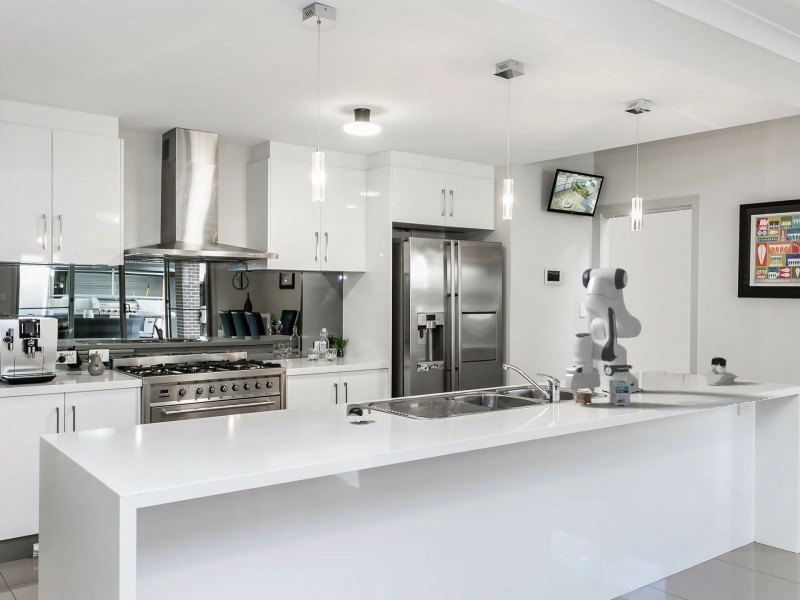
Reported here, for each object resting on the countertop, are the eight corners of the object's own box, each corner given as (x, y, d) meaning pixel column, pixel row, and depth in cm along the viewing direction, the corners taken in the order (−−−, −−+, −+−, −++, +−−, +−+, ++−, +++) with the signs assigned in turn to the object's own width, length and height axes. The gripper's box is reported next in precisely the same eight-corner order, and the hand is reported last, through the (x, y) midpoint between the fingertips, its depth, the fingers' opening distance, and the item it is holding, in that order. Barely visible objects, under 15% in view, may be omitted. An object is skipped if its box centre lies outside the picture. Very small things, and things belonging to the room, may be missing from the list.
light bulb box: (630, 406, 313) (630, 382, 313) (615, 406, 314) (615, 382, 314) (623, 402, 324) (623, 379, 324) (609, 402, 324) (608, 379, 324)
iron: (738, 382, 397) (738, 356, 397) (722, 386, 380) (722, 359, 380) (718, 381, 405) (718, 355, 405) (702, 385, 388) (702, 358, 388)
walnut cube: (582, 402, 325) (582, 392, 325) (591, 404, 321) (591, 393, 321) (575, 403, 322) (575, 393, 322) (583, 405, 318) (583, 394, 318)
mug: (348, 423, 276) (348, 406, 276) (345, 420, 283) (345, 404, 283) (372, 421, 279) (372, 405, 279) (369, 419, 285) (368, 403, 285)
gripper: (593, 366, 330) (593, 395, 330) (562, 368, 318) (562, 399, 318) (603, 367, 324) (603, 397, 324) (573, 369, 313) (573, 400, 313)
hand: (583, 398), depth 321 cm, fingers open, 8 cm apart
